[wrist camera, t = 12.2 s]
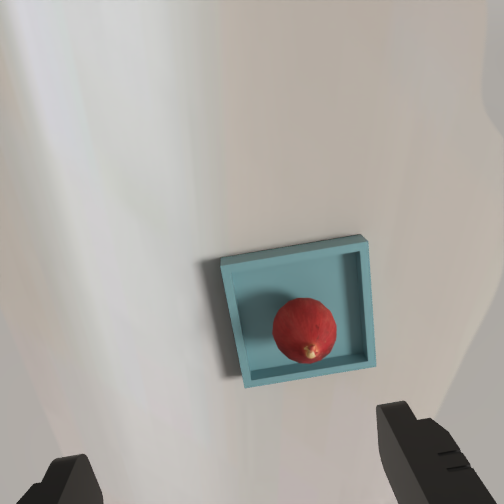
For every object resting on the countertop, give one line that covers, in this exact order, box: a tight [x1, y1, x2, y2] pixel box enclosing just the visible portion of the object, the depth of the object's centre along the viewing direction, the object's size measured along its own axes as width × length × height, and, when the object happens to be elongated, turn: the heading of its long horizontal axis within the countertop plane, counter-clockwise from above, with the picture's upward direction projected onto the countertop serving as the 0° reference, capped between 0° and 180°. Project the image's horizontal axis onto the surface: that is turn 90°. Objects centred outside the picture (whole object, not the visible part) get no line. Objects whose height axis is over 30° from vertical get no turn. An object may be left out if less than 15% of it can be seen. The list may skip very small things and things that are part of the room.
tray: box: [220, 234, 376, 388], centre depth 40 cm, size 14×14×2 cm
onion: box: [272, 298, 337, 364], centre depth 36 cm, size 6×6×8 cm
